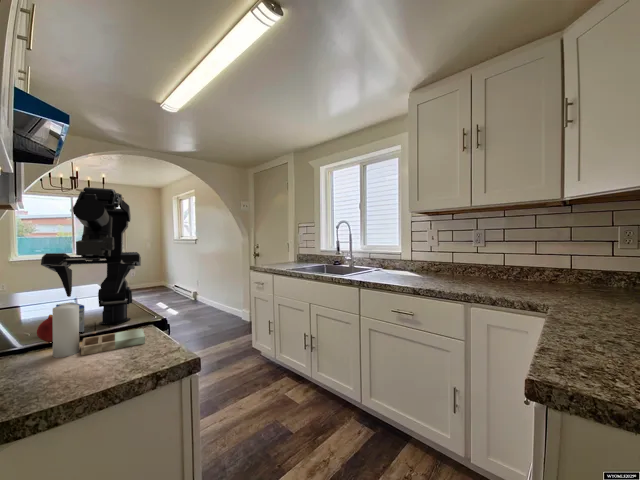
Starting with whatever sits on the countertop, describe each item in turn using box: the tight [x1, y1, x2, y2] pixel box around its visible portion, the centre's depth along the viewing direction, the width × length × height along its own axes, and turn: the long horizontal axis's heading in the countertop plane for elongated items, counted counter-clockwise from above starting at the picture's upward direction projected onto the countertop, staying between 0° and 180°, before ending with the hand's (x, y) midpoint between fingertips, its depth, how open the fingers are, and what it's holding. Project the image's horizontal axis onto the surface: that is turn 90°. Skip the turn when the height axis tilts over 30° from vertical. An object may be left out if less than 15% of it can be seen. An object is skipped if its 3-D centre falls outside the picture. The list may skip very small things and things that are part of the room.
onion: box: [36, 314, 53, 344], centre depth 77 cm, size 6×6×8 cm
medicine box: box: [55, 301, 85, 333], centre depth 85 cm, size 8×4×9 cm, turn 62°
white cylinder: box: [52, 305, 80, 359], centre depth 70 cm, size 5×5×12 cm
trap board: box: [80, 327, 146, 356], centre depth 76 cm, size 14×8×2 cm, turn 128°
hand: (93, 294), depth 67 cm, fingers open, 9 cm apart
